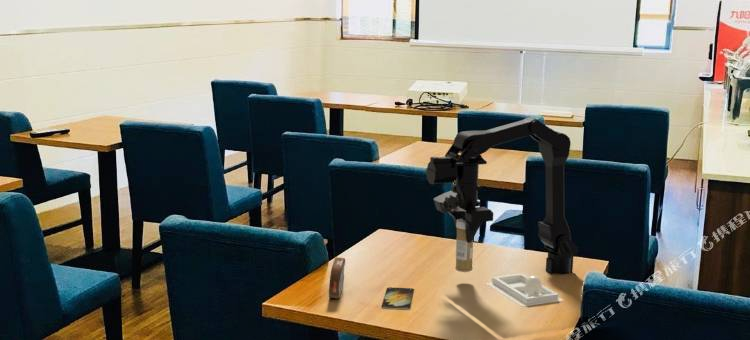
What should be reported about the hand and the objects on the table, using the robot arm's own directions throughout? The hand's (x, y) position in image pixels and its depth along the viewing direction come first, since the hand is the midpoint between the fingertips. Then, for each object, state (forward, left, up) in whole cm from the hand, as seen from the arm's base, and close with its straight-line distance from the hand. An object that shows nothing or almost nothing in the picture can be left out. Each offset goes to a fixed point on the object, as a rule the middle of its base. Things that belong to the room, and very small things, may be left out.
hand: (464, 240), depth 220 cm
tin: (+33, -6, -13) cm, 36 cm away
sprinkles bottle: (0, 0, -8) cm, 8 cm away
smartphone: (+20, +3, -13) cm, 24 cm away
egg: (-11, +16, -11) cm, 23 cm away
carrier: (-11, +12, -12) cm, 20 cm away
